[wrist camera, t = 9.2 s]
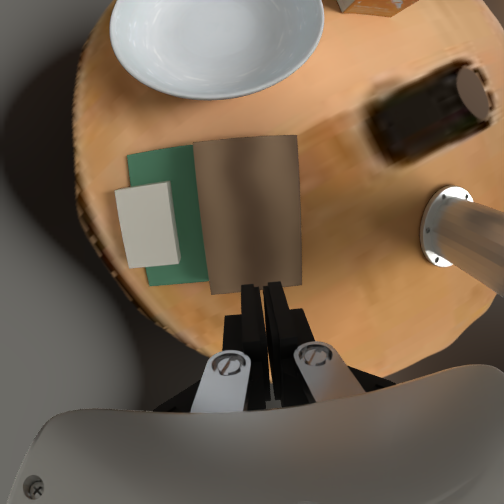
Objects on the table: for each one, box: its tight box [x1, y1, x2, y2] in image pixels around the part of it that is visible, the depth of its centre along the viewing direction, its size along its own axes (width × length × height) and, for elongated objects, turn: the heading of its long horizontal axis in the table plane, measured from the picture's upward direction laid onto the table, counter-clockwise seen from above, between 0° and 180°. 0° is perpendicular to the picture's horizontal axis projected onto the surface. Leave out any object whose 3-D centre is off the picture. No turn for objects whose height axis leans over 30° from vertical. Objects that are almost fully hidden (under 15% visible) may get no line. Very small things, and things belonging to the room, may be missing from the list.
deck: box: [193, 135, 302, 295], centre depth 30 cm, size 10×16×4 cm, turn 4°
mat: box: [127, 145, 209, 286], centre depth 31 cm, size 8×16×1 cm, turn 4°
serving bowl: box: [110, 0, 324, 100], centre depth 21 cm, size 21×21×7 cm
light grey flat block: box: [115, 181, 181, 268], centre depth 30 cm, size 6×9×2 cm, turn 4°
